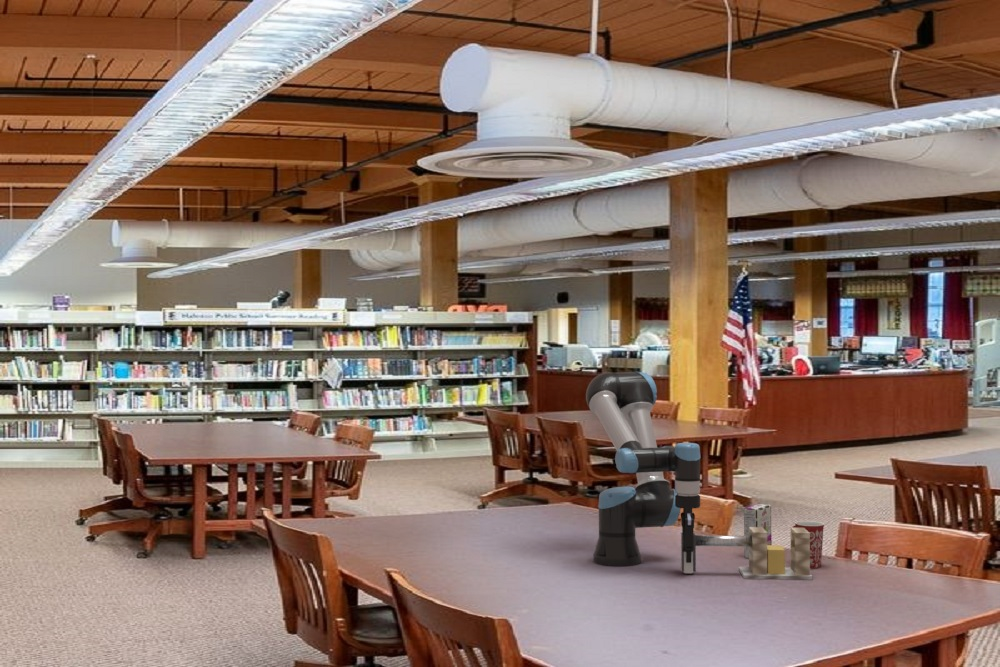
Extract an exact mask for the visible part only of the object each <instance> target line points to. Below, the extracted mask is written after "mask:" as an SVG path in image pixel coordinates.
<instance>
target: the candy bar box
mask: <svg viewBox="0 0 1000 667" xmlns="http://www.w3.org/2000/svg"><path fill="white" fill-rule="evenodd" d="M749 527H763V529H764V530H765V531H766V532H767V545H773V544H772V543H773V542H772V541H773V540H772V505H771V504H765V503H758V504H754V505H750V506H746V507H744V508H743V530H744V532H743V533H744V535H743V536H749ZM744 559H749V547H744Z"/></svg>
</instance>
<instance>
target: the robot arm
mask: <svg viewBox="0 0 1000 667" xmlns="http://www.w3.org/2000/svg"><path fill="white" fill-rule="evenodd" d="M657 392H658V390H657V385H656V383H655V380H654V379H653V377H652V376H651V375H650V374H649V373H647V372H643V371H641V372H640V371H630V372H629V371H628V372H627V371H626V372H624V371H623V372H622V371H621V372H609V371H607V372H602V373H600V374H598V375H596V376H595V377H594V378H593V379H591V381H590V383H589V384H588V386H587V387H586V392H585V400H586V403H587V404H586V405H587V406H588V408H589V410H590V412H591V413H593V414H594V415H596V416H597V418H598V420H599V422H600V424H601V425H602V427H603V429H604V430H605V433H606V435H607V436H608V438H609V439H610V441H611V443H612V444H613V446H614V448H615V450H616V452H615V456H614V457H615V458H614V461H615V463H614V464H616V465H615V467H616V469H617V471H618V472H619V473H622V474H625V473H626V474H627V473H628V474H635V475H636V480H637V484H636V485H635V487H633V486H617V487H611V488H607V489H604V490H602V491H601V492H600V493H599V496H598V504H597V507H598V538H597V542H596V545H595V548H594V551H593V557H592V559H593V563H595V564H599V565H602V566H611V567H612V566H613V567H616V566H617V567H618V566H619V567H623V566H625V567H626V566H634V565H639V564H641V563H642V555H641V551H640V548H639V545H638V542H637V539H636V529H640V528H641V529H642V528H657V527H659V528H663V527H669V526H674V525H675V524H676V523H677V521H678V520H679V517H680V519H681V521H680V522H681V527H682V529H681V530H682V532H681V533H684V550H682V552H684V571H683V574H694V572H693V550H694V548H693V533H694V528H695V520H696V515H695V513H694V512H693V509H698V508H700V507H701V495H700V493H701V487H703V483H701V447H700V445H699V444H698V443H695V442H678V443H676V444H675V445H674V446H673V445H664V446H661V447H658V445H657V444H658V443H657V440H656V436H655V430H654V425H653V421H652V417H651V412H652V411H653V410H654V405H655V404H656V402H657V398H658V396H657ZM663 472H674V473H675V476H674V477H675V479H674V488H672V487H671V483H670V481H669V480H667V479H665V477H664V473H663ZM681 509H682V510H683V511H682V512H681Z"/></svg>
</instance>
